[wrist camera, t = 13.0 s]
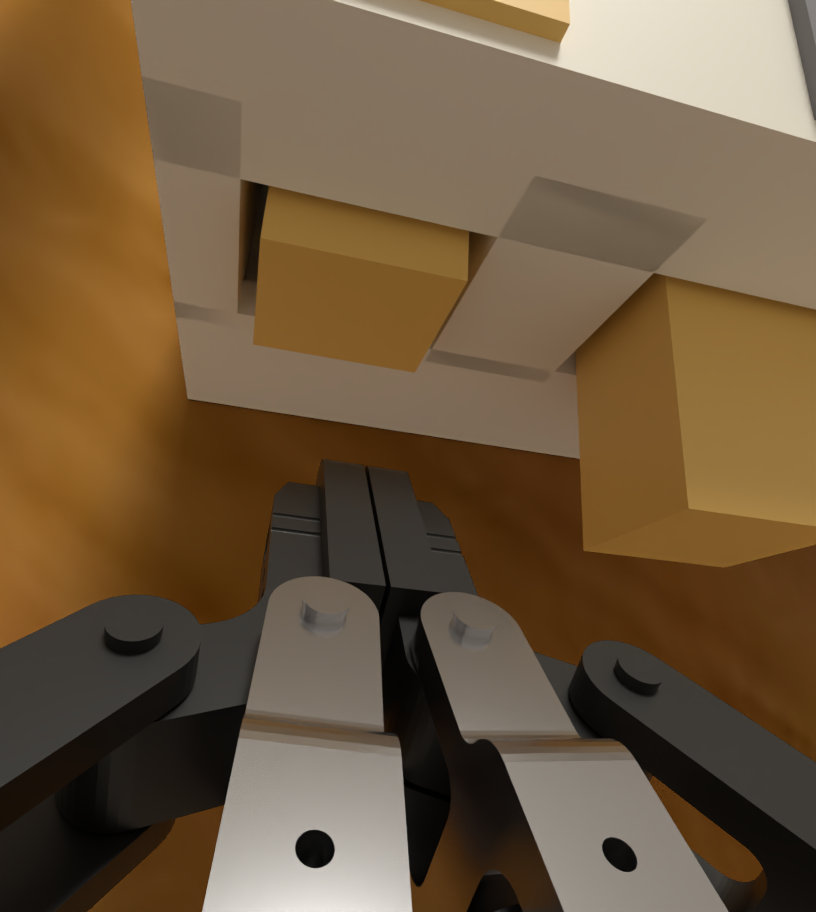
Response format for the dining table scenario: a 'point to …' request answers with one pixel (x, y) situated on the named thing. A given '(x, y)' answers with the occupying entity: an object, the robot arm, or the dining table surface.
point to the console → (480, 180)
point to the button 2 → (698, 426)
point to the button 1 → (354, 280)
